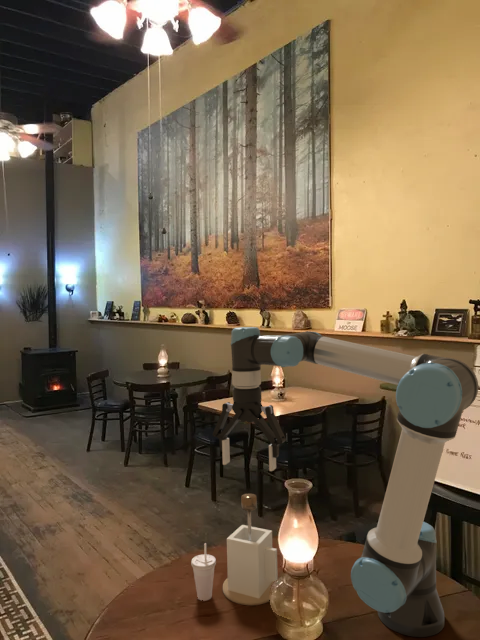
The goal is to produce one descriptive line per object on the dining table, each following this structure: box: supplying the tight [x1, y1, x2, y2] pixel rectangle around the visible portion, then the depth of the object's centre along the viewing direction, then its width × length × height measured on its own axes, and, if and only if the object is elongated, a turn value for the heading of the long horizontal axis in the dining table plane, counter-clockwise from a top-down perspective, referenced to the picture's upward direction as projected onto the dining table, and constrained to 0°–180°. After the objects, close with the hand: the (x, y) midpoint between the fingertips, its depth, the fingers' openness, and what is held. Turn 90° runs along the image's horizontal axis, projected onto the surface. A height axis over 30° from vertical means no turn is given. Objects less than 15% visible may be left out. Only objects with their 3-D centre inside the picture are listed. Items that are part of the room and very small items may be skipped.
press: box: [222, 524, 279, 606], centre depth 136 cm, size 15×15×15 cm
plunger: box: [240, 493, 258, 542], centre depth 135 cm, size 6×6×22 cm
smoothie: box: [190, 542, 217, 602], centre depth 132 cm, size 6×6×14 cm
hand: (249, 466), depth 134 cm, fingers open, 13 cm apart
